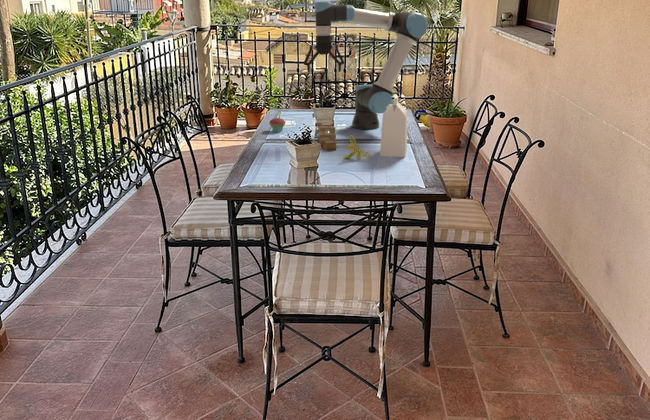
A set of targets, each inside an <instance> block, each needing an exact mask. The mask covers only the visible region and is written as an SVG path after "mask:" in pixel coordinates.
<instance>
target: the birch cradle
mask: <svg viewBox="0 0 650 420" xmlns="http://www.w3.org/2000/svg"><path fill="white" fill-rule="evenodd" d="M318 135H319V136H318V139H319V138H329V139H331V140H333V141H334V142H336V127H335V126H319V134H318Z"/></svg>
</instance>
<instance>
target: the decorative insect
mask: <svg viewBox="0 0 650 420" xmlns="http://www.w3.org/2000/svg"><path fill="white" fill-rule="evenodd" d="M348 138H349V141H350V144H349V145H347V146H346V148H347V149H348V150H351V152H350V153H349V154H348V155H345V156H344V157H343V158H342V159H343V160H346V159H349V158H352V157H353V156H354V155H355V154H356V159H358V160H361V159H362V156H363V157H364V158H370V157H372V154H371V153H370V152H369V151H366V150H360V149H361V147H360V146H359V145H357V142H356V139H355V136H353V134H350V135H349V137H348ZM352 150H353V151H352Z"/></svg>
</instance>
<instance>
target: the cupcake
mask: <svg viewBox="0 0 650 420" xmlns="http://www.w3.org/2000/svg"><path fill="white" fill-rule="evenodd" d="M281 113H282V110H281V109H280V110H279V114H278V117H274V118H272V119H271V120H269V126H271V128H272V129H271V130H272V131H273V133H281V132H282V131H283V129H284V127H285V125H286V120H284V119H282V118H281Z"/></svg>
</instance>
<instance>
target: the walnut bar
mask: <svg viewBox="0 0 650 420" xmlns="http://www.w3.org/2000/svg"><path fill="white" fill-rule="evenodd" d="M319 143H320V144H321V147H320V148H321V149H323V150H325V151H327V152H332V151H333V152H334V151H337V142H336V141H335V142H334V141H333V140H331V139H329V138H319V137H318V144H319Z"/></svg>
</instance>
